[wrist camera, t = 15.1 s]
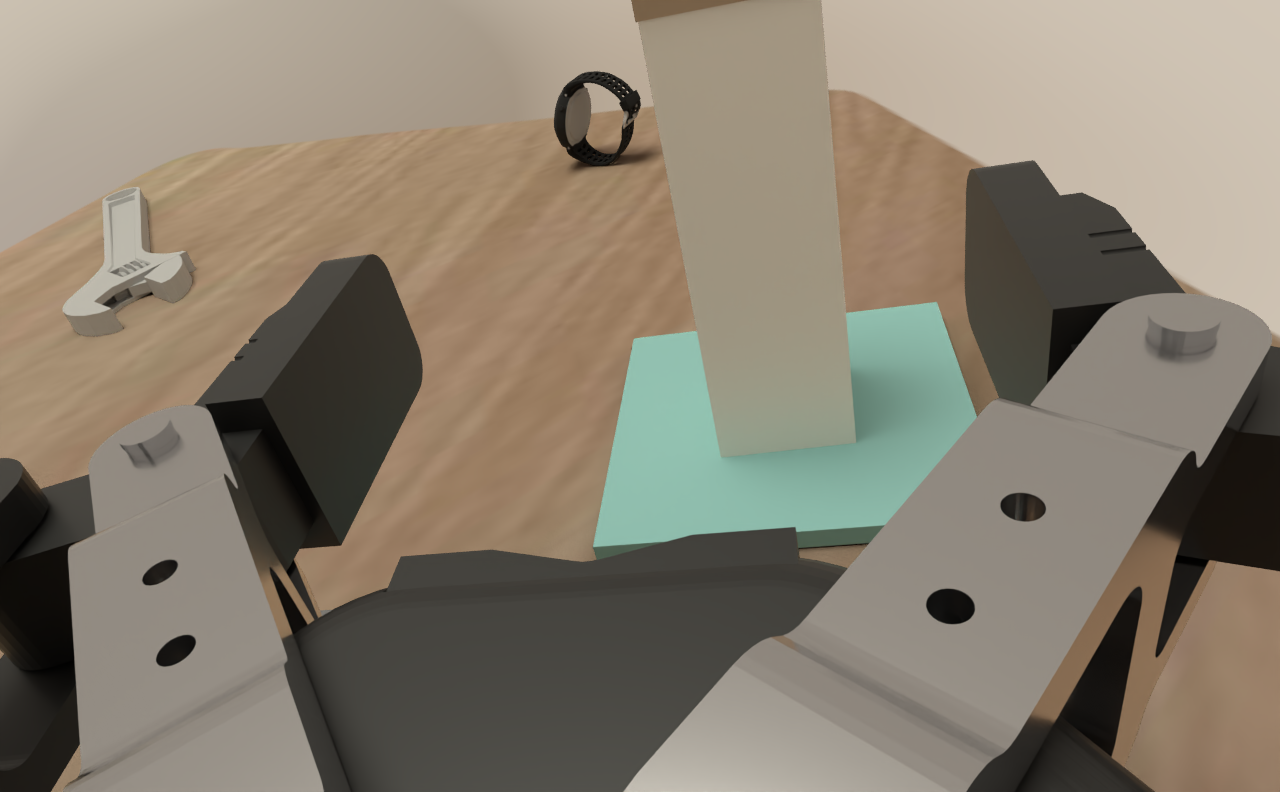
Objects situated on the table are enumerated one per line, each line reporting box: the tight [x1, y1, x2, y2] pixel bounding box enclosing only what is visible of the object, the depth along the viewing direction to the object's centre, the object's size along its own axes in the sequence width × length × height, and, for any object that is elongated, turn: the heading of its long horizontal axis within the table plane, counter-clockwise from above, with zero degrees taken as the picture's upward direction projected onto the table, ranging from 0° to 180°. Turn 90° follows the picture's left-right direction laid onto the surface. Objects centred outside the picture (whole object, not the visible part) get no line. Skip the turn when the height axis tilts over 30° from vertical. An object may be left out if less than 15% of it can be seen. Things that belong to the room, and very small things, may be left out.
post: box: [631, 0, 856, 458], centre depth 24 cm, size 4×4×14 cm
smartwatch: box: [554, 72, 641, 166], centre depth 51 cm, size 4×5×5 cm
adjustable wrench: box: [62, 187, 196, 336], centre depth 56 cm, size 25×6×2 cm, turn 24°
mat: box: [593, 302, 977, 560], centre depth 28 cm, size 11×11×1 cm
